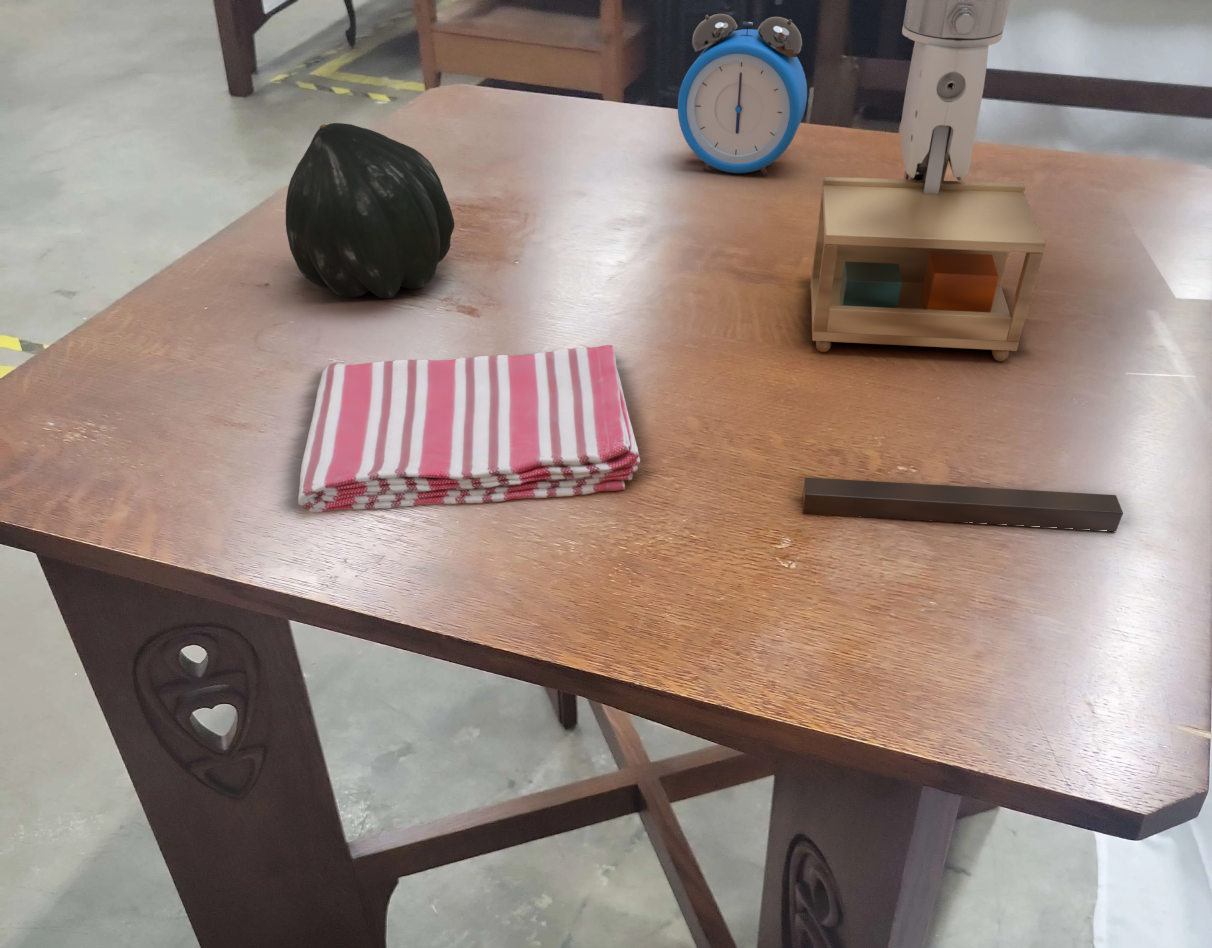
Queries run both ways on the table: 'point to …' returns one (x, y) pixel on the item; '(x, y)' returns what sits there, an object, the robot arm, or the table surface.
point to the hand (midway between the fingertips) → (910, 245)
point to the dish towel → (468, 431)
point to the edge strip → (961, 504)
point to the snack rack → (921, 264)
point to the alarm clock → (743, 93)
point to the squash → (366, 213)
